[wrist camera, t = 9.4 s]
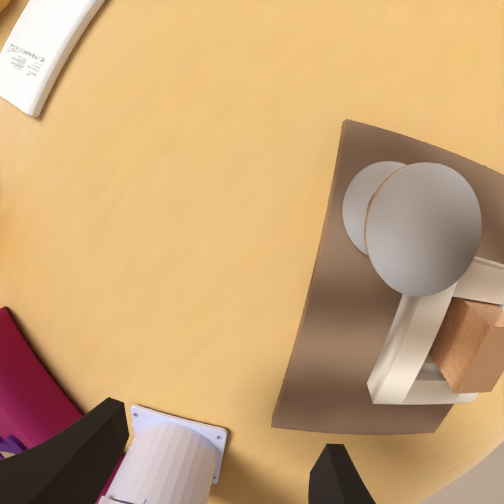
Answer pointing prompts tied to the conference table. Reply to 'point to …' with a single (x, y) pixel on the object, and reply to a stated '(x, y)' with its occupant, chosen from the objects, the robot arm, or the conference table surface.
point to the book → (30, 397)
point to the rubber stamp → (4, 4)
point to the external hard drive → (41, 49)
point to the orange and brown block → (470, 345)
